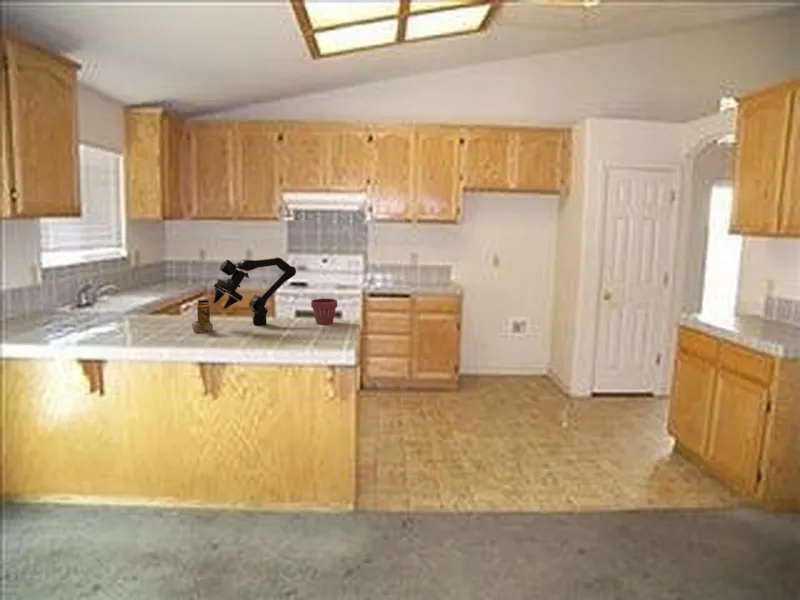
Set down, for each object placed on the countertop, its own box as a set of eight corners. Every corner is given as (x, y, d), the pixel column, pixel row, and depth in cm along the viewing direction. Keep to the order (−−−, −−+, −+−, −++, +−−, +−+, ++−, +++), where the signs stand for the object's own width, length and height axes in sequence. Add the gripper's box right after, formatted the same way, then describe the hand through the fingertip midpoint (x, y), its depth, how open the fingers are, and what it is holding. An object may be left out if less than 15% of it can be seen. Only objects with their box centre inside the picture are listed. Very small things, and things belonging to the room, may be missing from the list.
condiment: (209, 324, 331) (208, 300, 329) (192, 324, 330) (191, 300, 329) (212, 321, 338) (211, 298, 337) (195, 321, 338) (194, 298, 336)
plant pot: (314, 326, 349) (313, 302, 347) (309, 321, 362) (308, 298, 360) (340, 324, 353) (340, 301, 352) (334, 320, 367) (334, 297, 365)
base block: (210, 328, 341) (209, 320, 340) (212, 331, 333) (212, 323, 332) (192, 329, 337) (191, 321, 336) (194, 332, 329) (194, 325, 328)
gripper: (215, 268, 341) (198, 293, 338) (236, 278, 330) (219, 304, 327) (228, 278, 350) (212, 303, 346) (250, 288, 338) (233, 313, 335)
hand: (219, 305), depth 338 cm, fingers open, 9 cm apart
